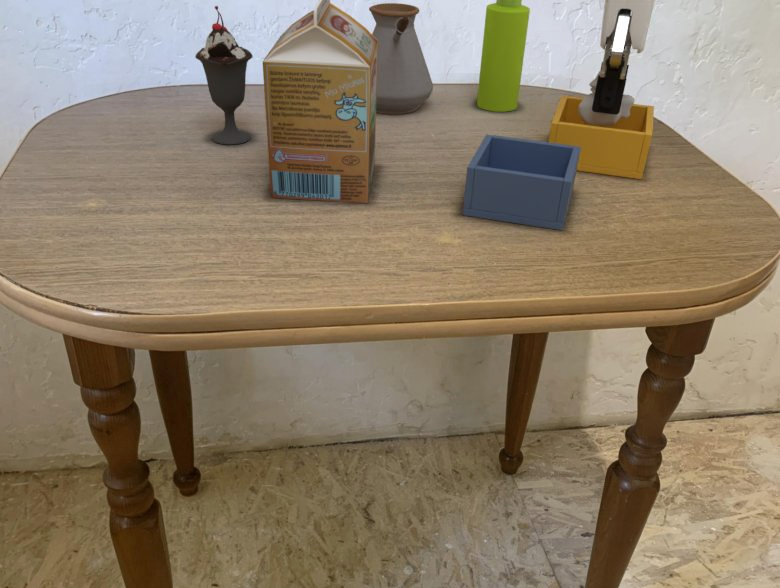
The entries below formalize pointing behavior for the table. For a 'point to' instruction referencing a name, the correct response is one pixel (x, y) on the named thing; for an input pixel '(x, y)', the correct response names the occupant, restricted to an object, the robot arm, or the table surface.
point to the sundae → (225, 79)
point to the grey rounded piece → (602, 118)
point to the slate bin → (521, 181)
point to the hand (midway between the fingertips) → (607, 103)
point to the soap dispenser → (502, 55)
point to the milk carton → (322, 108)
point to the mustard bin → (605, 139)
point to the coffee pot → (399, 60)
